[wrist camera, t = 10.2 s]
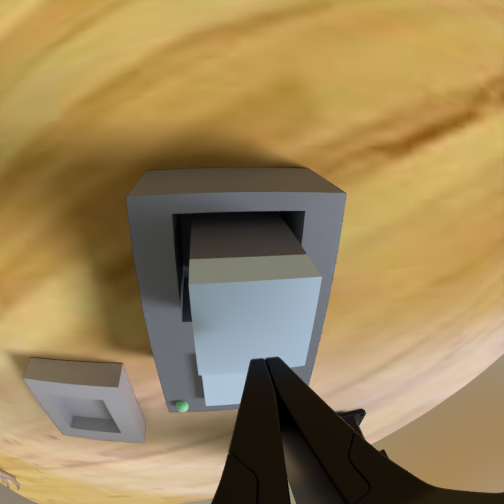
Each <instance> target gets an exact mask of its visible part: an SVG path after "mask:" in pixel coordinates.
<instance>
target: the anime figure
mask: <svg viewBox="0 0 504 504" xmlns="http://www.w3.org/2000/svg"><path fill="white" fill-rule="evenodd" d="M7 478H8V479H9V480H11V481H12V482H13V483H14V484H15V485H16V486H17V487H18V490H19V489H20V484H19V483H18V482H17V480H16V478H15V476H13V475H9V474H7V473H5V472H3V471H1V470H0V479H1V480H2V481H3V482H4V483H5V484H6V485H7V488H8V489H9V483H8V481H7Z"/></svg>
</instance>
